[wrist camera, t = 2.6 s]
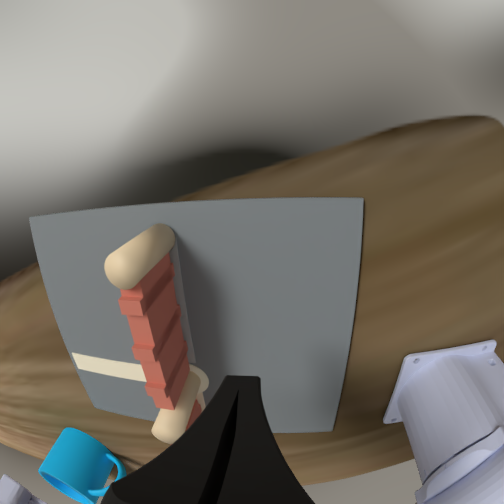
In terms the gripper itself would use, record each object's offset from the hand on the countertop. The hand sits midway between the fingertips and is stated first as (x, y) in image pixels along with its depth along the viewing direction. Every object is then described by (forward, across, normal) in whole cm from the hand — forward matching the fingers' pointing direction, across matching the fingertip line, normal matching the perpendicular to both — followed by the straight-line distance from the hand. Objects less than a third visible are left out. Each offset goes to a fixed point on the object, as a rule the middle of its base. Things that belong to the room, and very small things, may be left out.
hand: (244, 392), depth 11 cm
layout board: (+8, +5, +3) cm, 10 cm away
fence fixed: (+8, +5, +10) cm, 13 cm away
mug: (+8, +21, +24) cm, 33 cm away
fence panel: (+7, +5, 0) cm, 9 cm away
